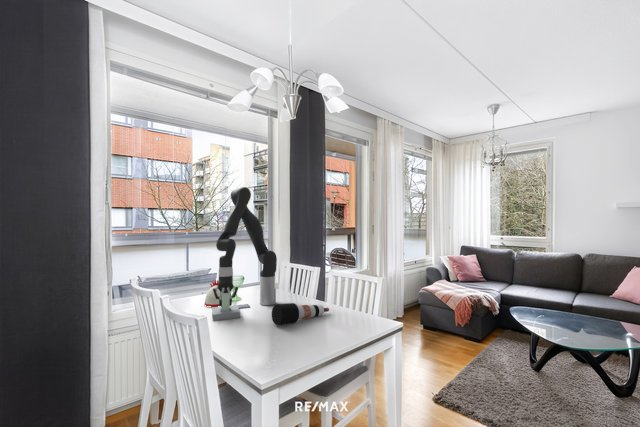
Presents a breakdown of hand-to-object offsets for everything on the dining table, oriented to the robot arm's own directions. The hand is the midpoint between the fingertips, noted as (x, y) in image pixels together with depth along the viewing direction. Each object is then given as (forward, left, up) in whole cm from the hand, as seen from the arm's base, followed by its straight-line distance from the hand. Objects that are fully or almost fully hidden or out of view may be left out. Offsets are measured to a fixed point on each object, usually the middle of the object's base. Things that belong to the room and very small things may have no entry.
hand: (225, 305), depth 173 cm
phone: (-8, -13, -6) cm, 16 cm away
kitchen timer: (+4, -25, -5) cm, 26 cm away
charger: (0, 0, -3) cm, 3 cm away
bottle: (-38, +22, -6) cm, 45 cm away
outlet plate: (0, 0, -5) cm, 5 cm away
